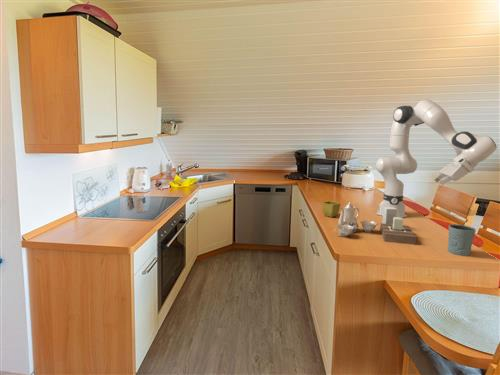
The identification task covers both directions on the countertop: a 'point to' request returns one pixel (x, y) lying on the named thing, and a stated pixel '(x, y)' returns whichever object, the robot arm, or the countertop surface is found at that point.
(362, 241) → the countertop surface
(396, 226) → the sage peg
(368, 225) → the chinaware
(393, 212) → the skincare box
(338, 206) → the flower pot
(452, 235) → the blue-grey embossed planter
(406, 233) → the socket board
